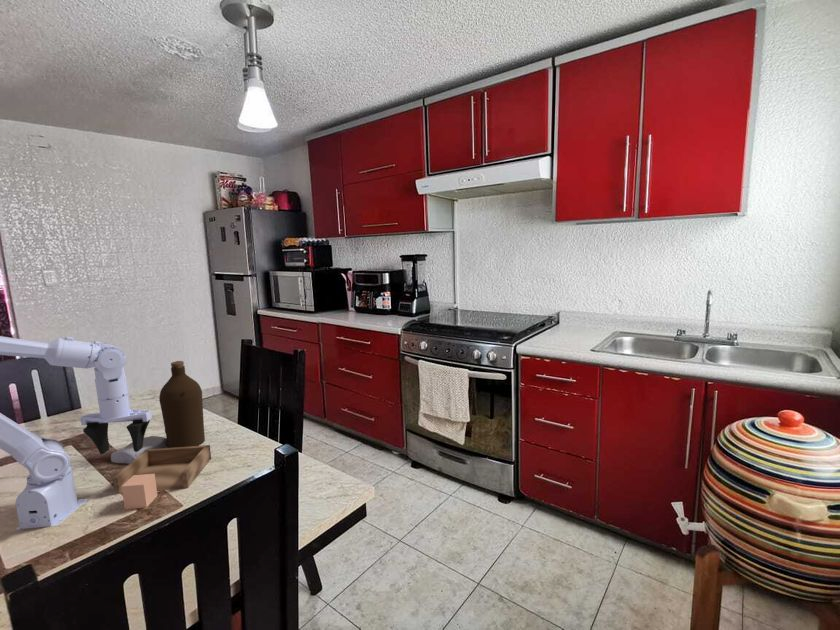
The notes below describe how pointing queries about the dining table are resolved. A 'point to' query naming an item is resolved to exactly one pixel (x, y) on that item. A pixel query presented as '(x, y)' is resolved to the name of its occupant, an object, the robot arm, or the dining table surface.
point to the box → (167, 467)
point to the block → (139, 491)
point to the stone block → (129, 454)
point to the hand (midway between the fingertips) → (121, 451)
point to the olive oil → (182, 409)
